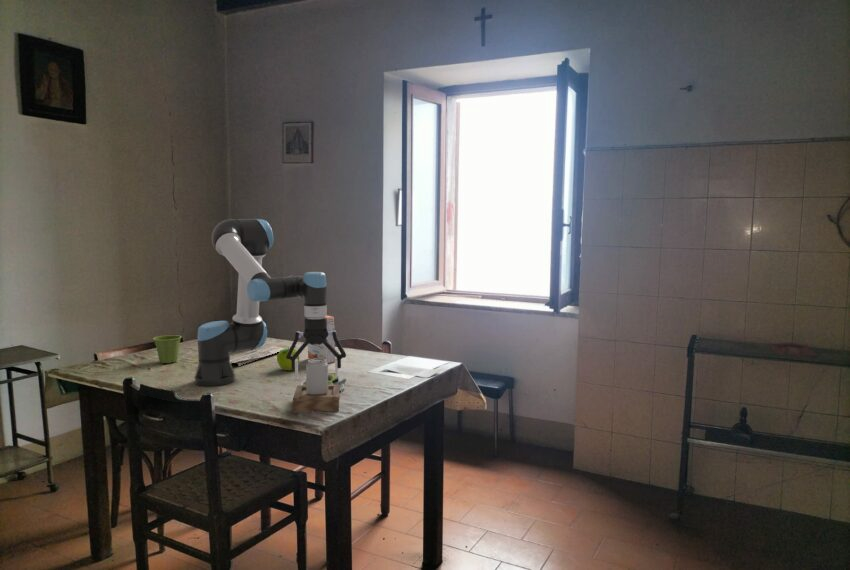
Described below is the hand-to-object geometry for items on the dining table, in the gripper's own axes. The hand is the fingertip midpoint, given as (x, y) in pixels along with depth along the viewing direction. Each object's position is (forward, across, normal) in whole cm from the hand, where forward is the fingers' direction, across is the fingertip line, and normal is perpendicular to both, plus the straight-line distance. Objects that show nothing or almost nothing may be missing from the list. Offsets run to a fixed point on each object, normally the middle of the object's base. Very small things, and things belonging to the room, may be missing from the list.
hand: (316, 378), depth 207 cm
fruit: (+10, -15, +50) cm, 53 cm away
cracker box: (+10, -2, +65) cm, 66 cm away
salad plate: (+10, +1, +21) cm, 23 cm away
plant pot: (+10, -70, +70) cm, 99 cm away
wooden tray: (+10, 0, 0) cm, 10 cm away
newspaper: (+11, -33, +73) cm, 81 cm away
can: (+6, 0, 0) cm, 6 cm away
